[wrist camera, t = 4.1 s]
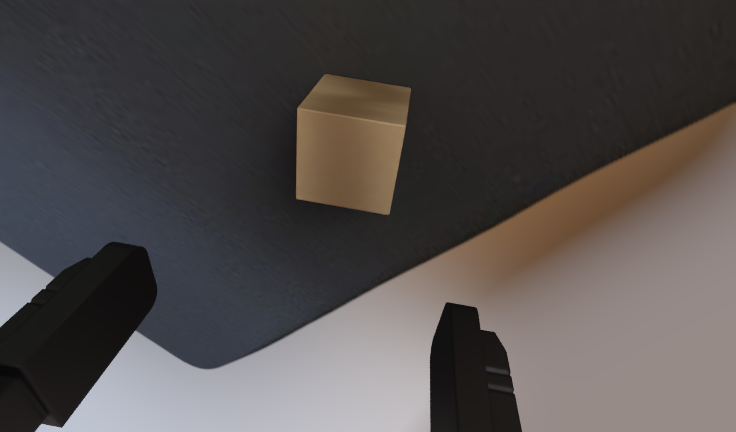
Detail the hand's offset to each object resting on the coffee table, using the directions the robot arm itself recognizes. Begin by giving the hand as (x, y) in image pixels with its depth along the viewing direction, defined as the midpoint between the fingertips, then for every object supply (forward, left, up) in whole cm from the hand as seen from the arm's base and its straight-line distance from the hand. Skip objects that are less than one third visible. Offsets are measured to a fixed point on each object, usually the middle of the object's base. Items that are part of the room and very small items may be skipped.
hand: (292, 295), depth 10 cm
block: (0, 0, -13) cm, 13 cm away
